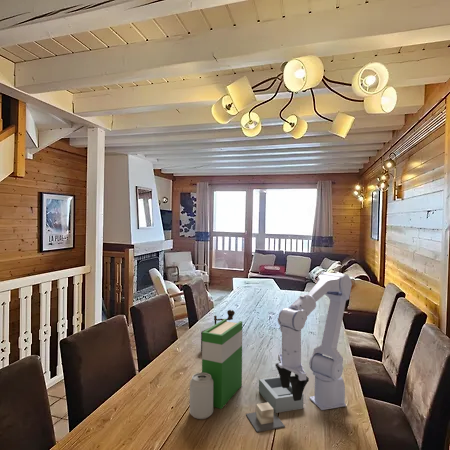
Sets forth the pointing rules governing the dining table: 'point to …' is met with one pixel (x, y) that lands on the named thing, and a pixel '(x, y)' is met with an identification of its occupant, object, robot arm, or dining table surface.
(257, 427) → the mat
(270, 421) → the block
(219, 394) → the hardback book
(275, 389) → the slot box
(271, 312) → the dining table surface
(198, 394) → the can
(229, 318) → the coffee grinder
